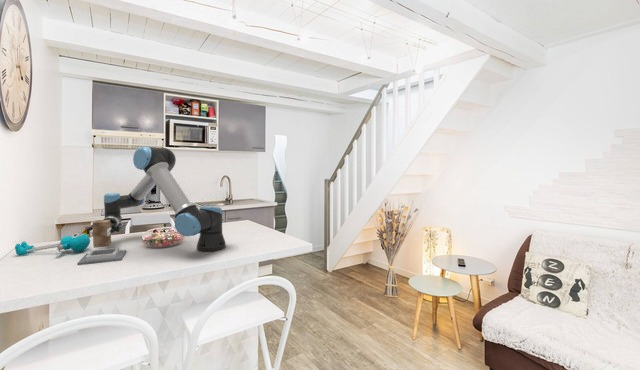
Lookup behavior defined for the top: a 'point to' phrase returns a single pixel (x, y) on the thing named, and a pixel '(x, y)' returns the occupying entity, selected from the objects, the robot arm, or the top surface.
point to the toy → (58, 244)
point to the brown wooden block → (101, 233)
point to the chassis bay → (102, 256)
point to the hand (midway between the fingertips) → (99, 233)
